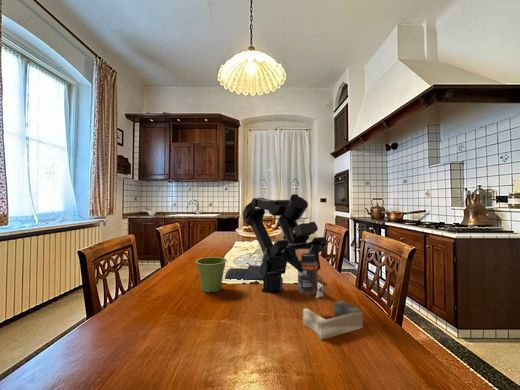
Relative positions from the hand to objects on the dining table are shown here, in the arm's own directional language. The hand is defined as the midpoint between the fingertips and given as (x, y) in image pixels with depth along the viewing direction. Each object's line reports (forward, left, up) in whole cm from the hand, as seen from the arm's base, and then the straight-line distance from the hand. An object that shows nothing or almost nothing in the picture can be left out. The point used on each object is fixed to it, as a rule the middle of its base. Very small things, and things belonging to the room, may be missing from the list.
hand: (310, 270), depth 81 cm
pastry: (-9, +32, -14) cm, 36 cm away
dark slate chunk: (-37, +27, -14) cm, 48 cm away
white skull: (-5, +18, -14) cm, 23 cm away
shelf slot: (+6, -4, -13) cm, 15 cm away
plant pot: (-41, +5, -13) cm, 43 cm away
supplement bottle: (-1, +1, -7) cm, 7 cm away
